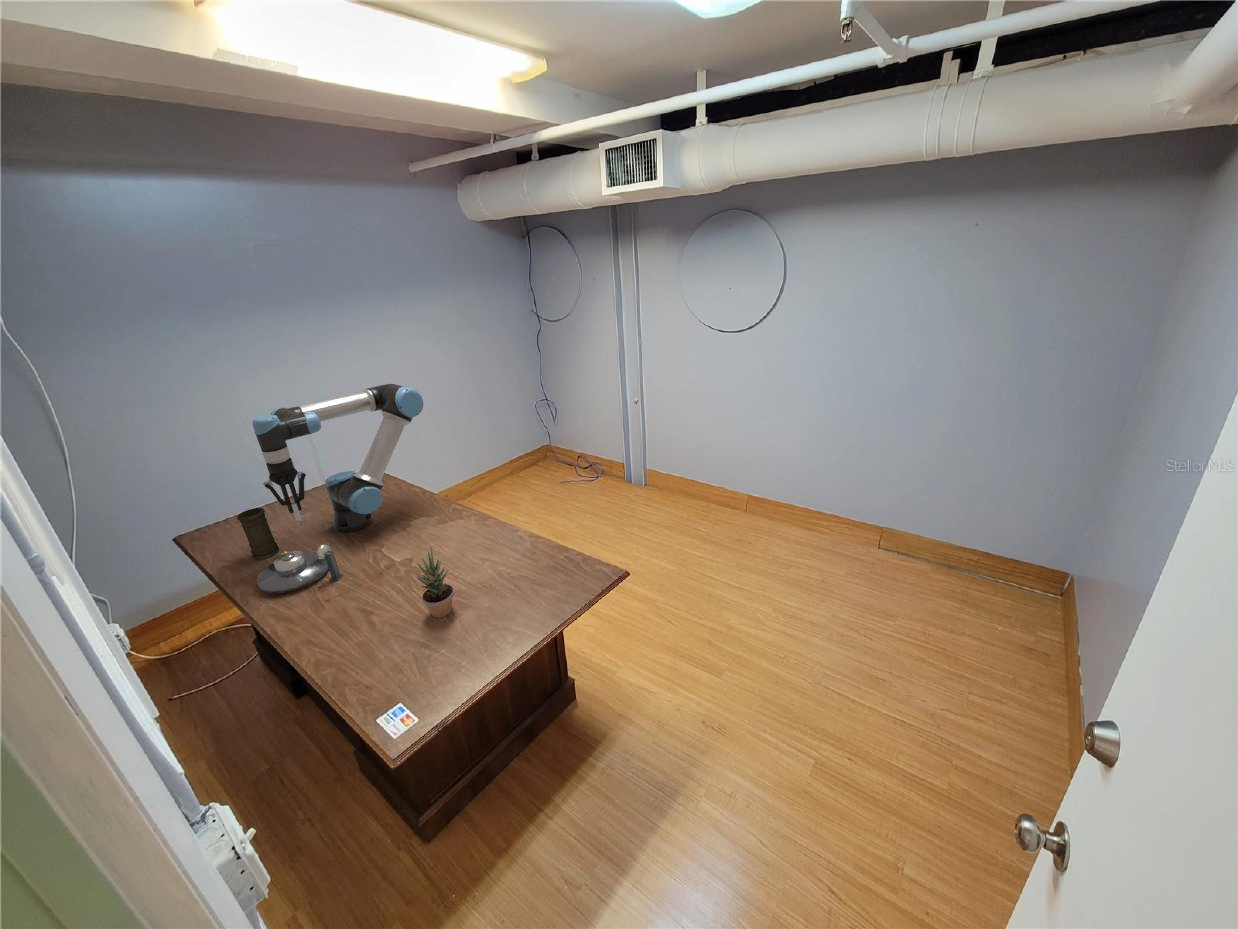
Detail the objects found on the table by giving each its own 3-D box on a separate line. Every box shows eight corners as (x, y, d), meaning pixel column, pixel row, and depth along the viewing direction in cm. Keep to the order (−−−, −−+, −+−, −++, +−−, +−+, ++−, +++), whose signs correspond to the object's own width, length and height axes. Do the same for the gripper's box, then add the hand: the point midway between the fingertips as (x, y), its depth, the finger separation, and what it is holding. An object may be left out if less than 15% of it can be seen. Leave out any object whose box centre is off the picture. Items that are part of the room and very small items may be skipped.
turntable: (319, 549, 192) (316, 538, 190) (337, 572, 177) (333, 561, 175) (252, 575, 178) (247, 563, 176) (266, 602, 163) (261, 590, 161)
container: (266, 560, 188) (250, 519, 181) (246, 558, 190) (230, 518, 183) (285, 547, 196) (270, 507, 189) (266, 546, 198) (251, 506, 191)
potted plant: (439, 625, 151) (423, 557, 141) (419, 615, 156) (402, 549, 146) (464, 606, 159) (451, 541, 149) (445, 597, 164) (430, 533, 154)
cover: (302, 559, 182) (297, 545, 180) (310, 569, 176) (305, 554, 174) (274, 570, 176) (269, 556, 174) (281, 580, 170) (276, 566, 168)
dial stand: (344, 574, 178) (334, 542, 173) (336, 582, 174) (325, 550, 168) (334, 573, 179) (324, 541, 173) (325, 582, 174) (314, 549, 169)
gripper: (296, 451, 178) (315, 509, 188) (253, 462, 170) (275, 522, 180) (302, 456, 173) (321, 515, 183) (258, 468, 165) (280, 529, 175)
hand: (298, 519), depth 181 cm, fingers closed
